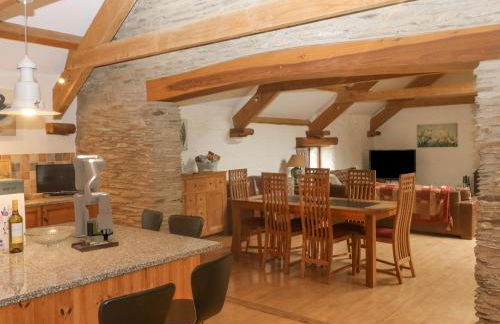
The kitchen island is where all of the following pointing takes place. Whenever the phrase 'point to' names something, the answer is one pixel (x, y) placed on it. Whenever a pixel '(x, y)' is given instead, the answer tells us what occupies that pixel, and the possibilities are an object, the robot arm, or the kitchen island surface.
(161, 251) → the kitchen island surface
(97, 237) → the panel
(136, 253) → the kitchen island surface
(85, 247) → the board
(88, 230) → the tea box
